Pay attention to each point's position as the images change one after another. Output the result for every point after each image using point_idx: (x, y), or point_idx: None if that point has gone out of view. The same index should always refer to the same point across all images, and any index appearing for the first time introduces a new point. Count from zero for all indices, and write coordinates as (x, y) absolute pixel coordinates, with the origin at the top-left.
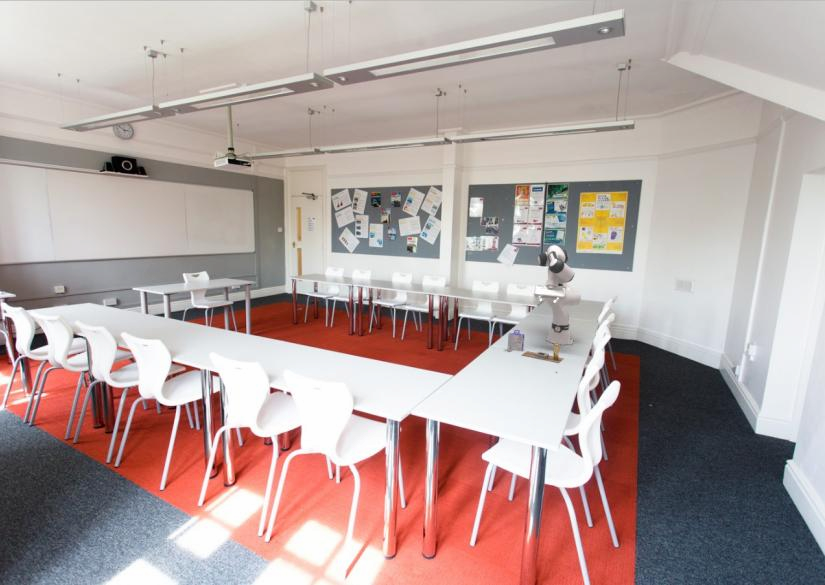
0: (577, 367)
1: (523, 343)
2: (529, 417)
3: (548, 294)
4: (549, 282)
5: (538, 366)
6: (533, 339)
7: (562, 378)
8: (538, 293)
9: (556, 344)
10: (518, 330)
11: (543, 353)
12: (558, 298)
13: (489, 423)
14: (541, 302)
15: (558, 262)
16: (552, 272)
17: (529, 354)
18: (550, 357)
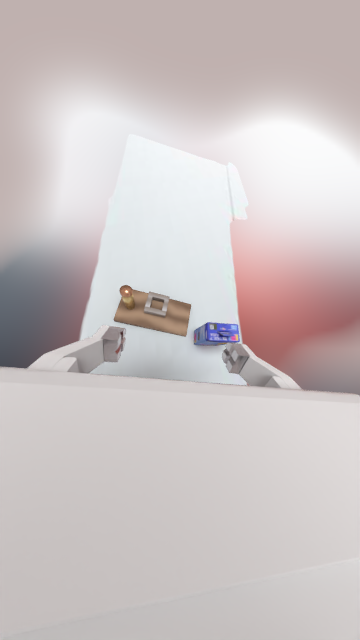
0: (91, 293)
1: (199, 335)
2: (149, 158)
3: (209, 396)
4: None
5: (157, 274)
6: None
7: (120, 239)
8: (343, 401)
9: (126, 287)
10: (226, 335)
11: (154, 308)
12: (46, 358)
13: (175, 151)
14: (222, 353)
15: None
16: None
17: (179, 315)
18: (140, 314)
